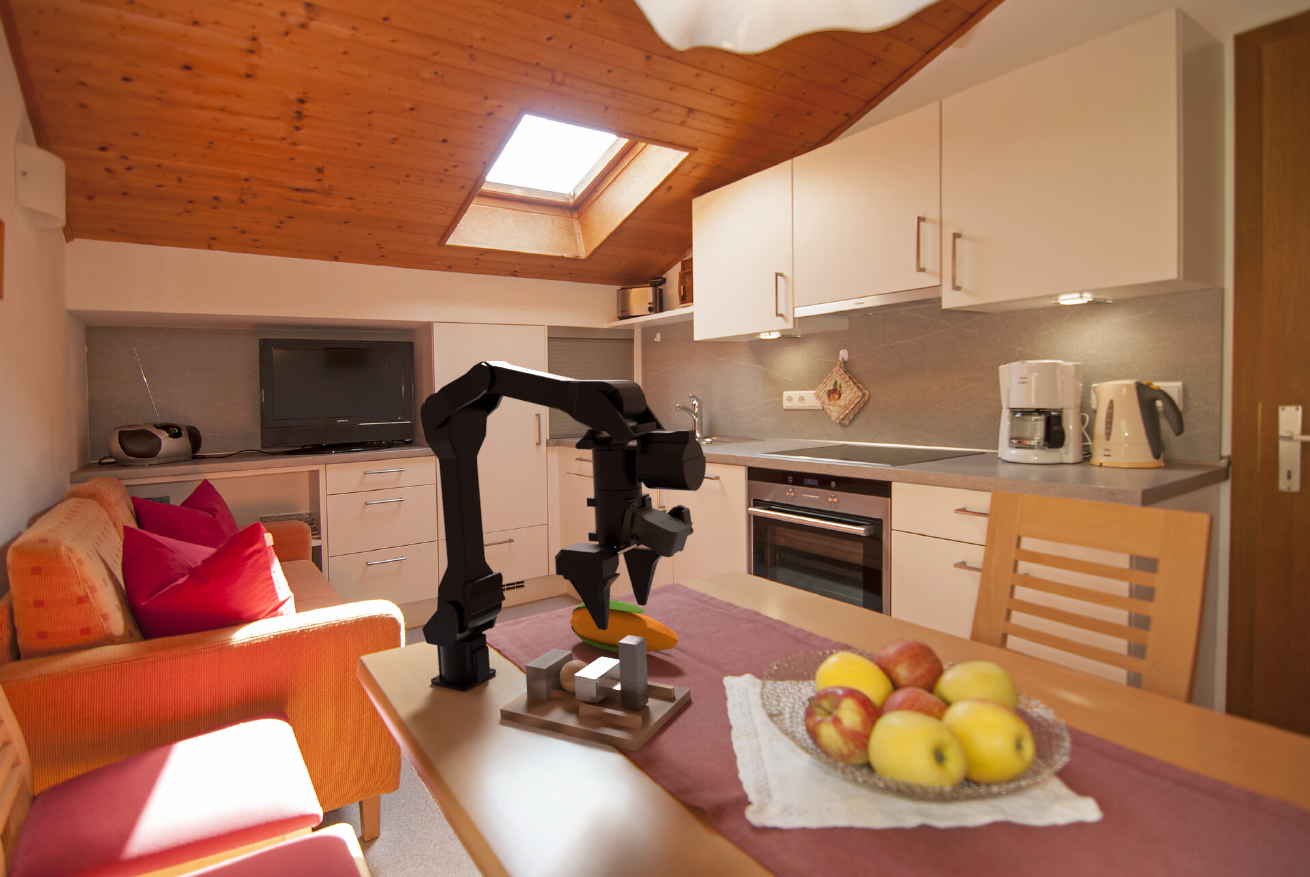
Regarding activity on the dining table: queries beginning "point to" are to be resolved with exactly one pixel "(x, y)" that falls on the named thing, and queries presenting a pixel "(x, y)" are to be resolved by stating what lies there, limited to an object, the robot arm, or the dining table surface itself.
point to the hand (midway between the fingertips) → (623, 616)
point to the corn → (622, 628)
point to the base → (589, 707)
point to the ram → (617, 676)
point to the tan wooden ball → (570, 674)
